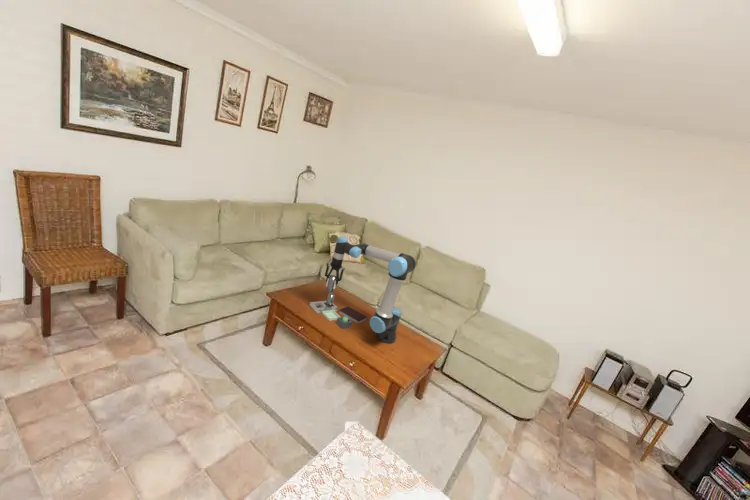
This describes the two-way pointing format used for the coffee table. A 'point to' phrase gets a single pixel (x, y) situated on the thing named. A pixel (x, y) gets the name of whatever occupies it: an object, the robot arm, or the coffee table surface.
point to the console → (344, 323)
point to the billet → (331, 283)
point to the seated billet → (330, 299)
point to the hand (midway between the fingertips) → (330, 286)
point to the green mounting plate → (330, 315)
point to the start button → (345, 319)
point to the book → (353, 314)
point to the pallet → (322, 306)
